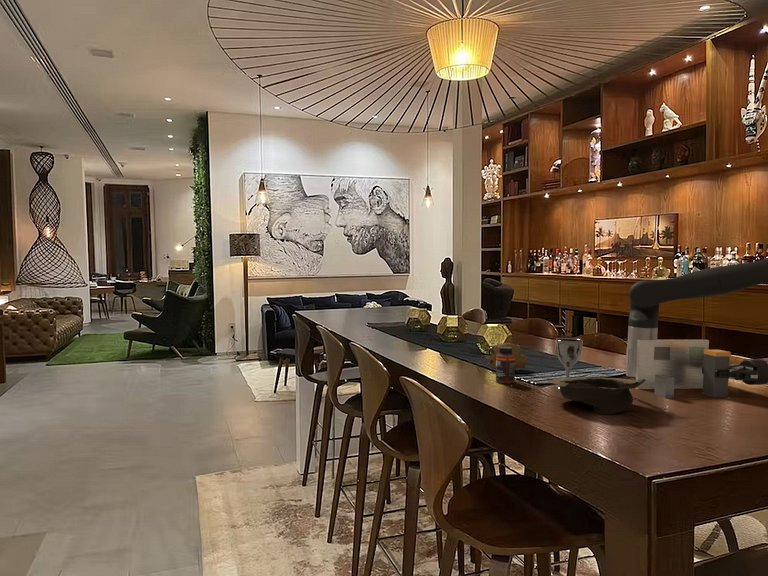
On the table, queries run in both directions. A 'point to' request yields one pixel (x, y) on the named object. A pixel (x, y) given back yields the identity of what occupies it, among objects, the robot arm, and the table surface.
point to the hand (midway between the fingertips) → (709, 372)
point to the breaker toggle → (710, 382)
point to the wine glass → (568, 352)
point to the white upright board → (671, 365)
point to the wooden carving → (519, 358)
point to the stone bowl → (599, 392)
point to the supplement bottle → (505, 366)
